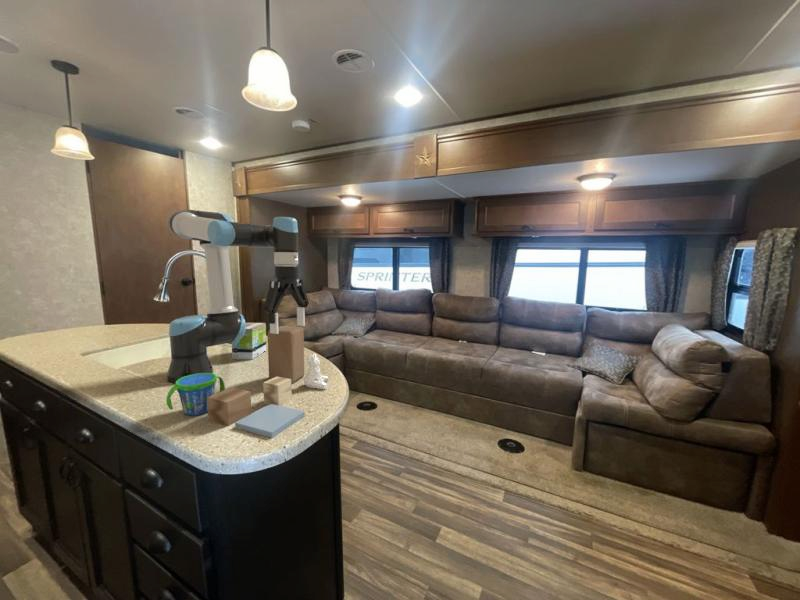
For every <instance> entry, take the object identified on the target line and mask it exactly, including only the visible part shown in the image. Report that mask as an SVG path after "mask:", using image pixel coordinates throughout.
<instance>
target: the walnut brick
mask: <svg viewBox="0 0 800 600" xmlns="http://www.w3.org/2000/svg"><path fill="white" fill-rule="evenodd" d="M251 395H252V393H251V391H249V390H243V389H241V388H240V389H239V388H234V387H228V388H225V390H224V391H221V392H220V391H219V392H217V393H214V395H211V396H209V397H207V409H208V411H207V421H209V422H213V423H217V424H221V425H223V426H227V427H230V426H232V425H233V424H235V422H237V421H239V420H241V419H243V418H244V417H246V416H248V415H250V414H252V413H253V412H252V396H251Z"/></svg>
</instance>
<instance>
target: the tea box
mask: <svg viewBox="0 0 800 600" xmlns="http://www.w3.org/2000/svg"><path fill="white" fill-rule="evenodd" d="M264 351H266V352H267V325H266V322H246V329H245V333H244V335H243V337H242V338H241V339H240V340H238V341H235V342H232V343H231V359H232V360H248V361H249V360H251V361H252V360H254V359H255V358H257V357H258V356H260V355H262V354H263V352H264ZM264 353H265V352H264Z"/></svg>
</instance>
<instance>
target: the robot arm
mask: <svg viewBox="0 0 800 600" xmlns="http://www.w3.org/2000/svg"><path fill="white" fill-rule="evenodd" d="M167 225H168V228H169V231H170V232H171V233H172V234H173V235H174V236H176V237H178V238H180V239H183V240H187V241H188V240H190V241H198V242H199V247H201V248H202V249H203V250H204V257H205V266H206V274H207V275H206V276H207V286H208V294H209V295H208V296H209V305H210V308H209V310H208V311H207V312H206V317H205V315H203V314H194V315H186V316H181V317H179V318H176V319H174V320H172V321H171V322H170V324H169V332H168V336H169V343H170V344H169V345H170V363H169V367H168V371H167V373H166V380H167V382H169V383H172V384H175V383H176V381H177V380H178V379H180V378H182V377H185V376H188V375H192V374H198V373H212V374H214V368H213V366H212V363H211V361H210V359H209V356H208V353H207V352H208V351H207V348H209V347H214V346H219V345H224V344H232V342H235V341H238V340H240V339H241V338H242V337H243V335H244V333H245V329H246V323H247V322H246V320H245V317H244V315H243V314H241V313H239V309H238V308H237V307H235V305H234V304H235V303H234V294H233V286H232V285H233V283H232V273H231V264H230V255H229V254H230V253H229V250H230V248H231V247H244V248H246V247H247V248H260V249H270V248H273V258H274V259H273V261H274V262H273V264H274V265H275V266H274V278H276V280H277V281H276V280H275V281H273V280H272V281H271V280H270V281H269V285H268V286H269V288H268V291H267V294H266V298H265V301H264V305H263V307H262V308H263V309H262V312H264V313H266V314H268V315H267V316H268V323H269V330H270V333H273V334H278V333H279V328H278V327H279V312H277V310H278V309H279V308H280V305H281V303H282V301H283V299H284V297H285V296H286V295H291V297H292V298H293V300H294V301H295V303H296V304H297V307H296V325H297V327H305V326H306V308H308V307H309V304H310V301H309V298H308V295H307V293H306V290H305V287H304V280H303V279H297V278H299V277H300V276H299V275H300V269H299V268H300V267H299V266H298V265H299V229H298V220H297V219H296V218H295V217H289V216H275V217H274V218H273V219H272V224H267V225H266V224H258V223H257V224H256V223H247V222H246V223H245V222H235V220H234V219H233V218H232V217H231V216H230V215H229V214H226V213H221V212H212V211H202V210H196V209H195V210H194V209H180V210H177V211H174V212H173V213H172V214H171V215H169V217H168V221H167Z"/></svg>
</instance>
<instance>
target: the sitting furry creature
mask: <svg viewBox="0 0 800 600" xmlns="http://www.w3.org/2000/svg"><path fill="white" fill-rule="evenodd" d="M306 360H307V364H308V365H309V368H308V370H307V373H306V375H304V378H303V383H304V385H305V386H306V387H307V388H308V389H315V388H317V390H322V389H323V391H324V389H325V390H327V388H328V384H327V383H328V382H329V377H328V376H326V375H323V374H322V372H321V369H320V364H321V362H320V358H319V357H318V356H317V354H316V353H311V354H310V355H309V356H308V357H307V359H306ZM327 381H328V382H327Z"/></svg>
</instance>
